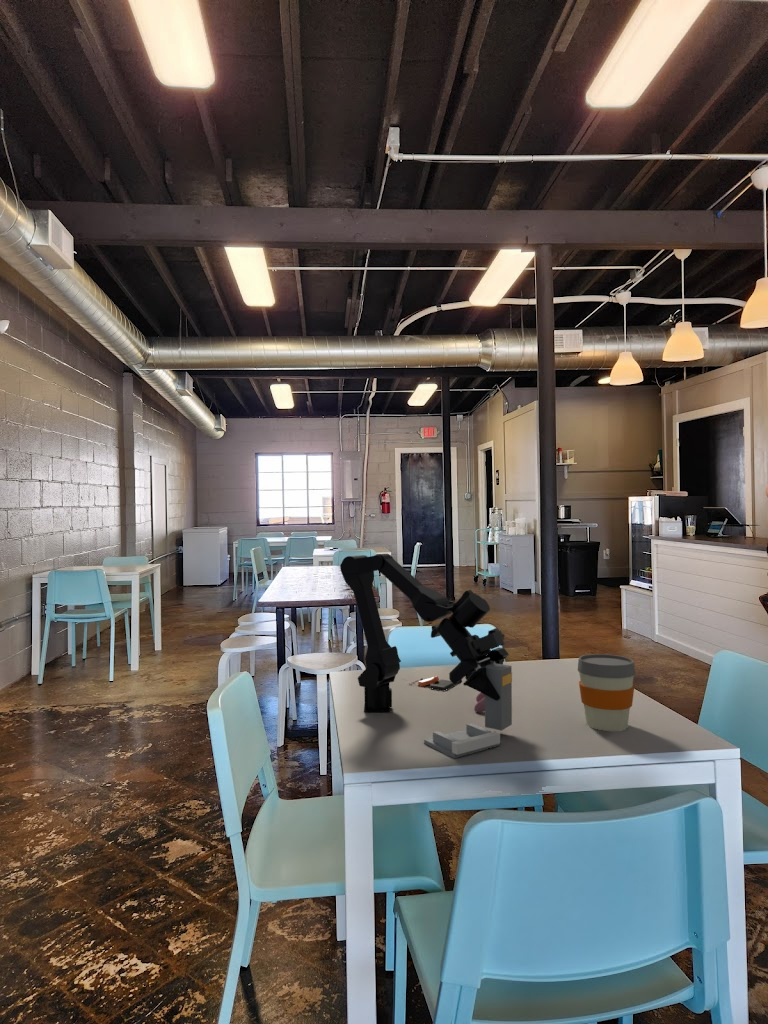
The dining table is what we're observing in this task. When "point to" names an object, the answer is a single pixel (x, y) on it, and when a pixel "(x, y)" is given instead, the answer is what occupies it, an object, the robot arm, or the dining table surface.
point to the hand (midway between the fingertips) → (504, 696)
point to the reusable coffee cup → (606, 690)
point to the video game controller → (480, 703)
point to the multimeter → (435, 683)
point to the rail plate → (464, 741)
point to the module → (500, 710)
